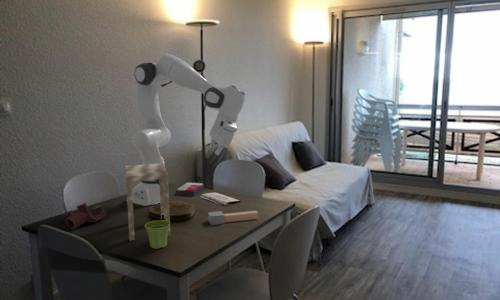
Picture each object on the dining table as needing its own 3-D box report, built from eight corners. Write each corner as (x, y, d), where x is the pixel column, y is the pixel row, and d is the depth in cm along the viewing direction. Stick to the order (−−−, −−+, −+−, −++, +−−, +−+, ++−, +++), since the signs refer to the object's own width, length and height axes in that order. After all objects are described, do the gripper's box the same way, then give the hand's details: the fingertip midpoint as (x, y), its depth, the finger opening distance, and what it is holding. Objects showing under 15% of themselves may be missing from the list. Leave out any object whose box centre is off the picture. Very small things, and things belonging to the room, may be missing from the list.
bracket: (110, 213, 187) (99, 194, 186) (79, 232, 174) (68, 212, 172) (102, 216, 191) (92, 197, 190) (72, 235, 177) (60, 214, 176)
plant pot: (141, 249, 153) (140, 227, 152) (152, 240, 162) (151, 219, 161) (165, 251, 151) (164, 229, 150) (174, 241, 160) (173, 220, 159)
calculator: (175, 189, 227) (186, 181, 241) (176, 196, 228) (187, 188, 242) (193, 190, 224) (204, 182, 238) (194, 197, 225) (204, 189, 239)
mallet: (255, 215, 191) (255, 207, 190) (259, 219, 185) (259, 211, 185) (208, 220, 185) (208, 212, 184) (211, 225, 179) (210, 216, 178)
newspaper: (198, 198, 222) (199, 193, 222) (217, 196, 230) (217, 192, 230) (223, 207, 205) (223, 202, 205) (242, 205, 213) (242, 200, 213)
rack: (165, 219, 187) (163, 163, 183) (170, 236, 166) (167, 173, 162) (129, 222, 183) (125, 165, 178) (129, 240, 162) (125, 176, 158)
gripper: (212, 115, 188) (202, 143, 190) (225, 125, 170) (213, 155, 172) (225, 120, 191) (214, 147, 193) (238, 129, 172) (226, 159, 174)
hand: (213, 151), depth 182 cm, fingers open, 8 cm apart
